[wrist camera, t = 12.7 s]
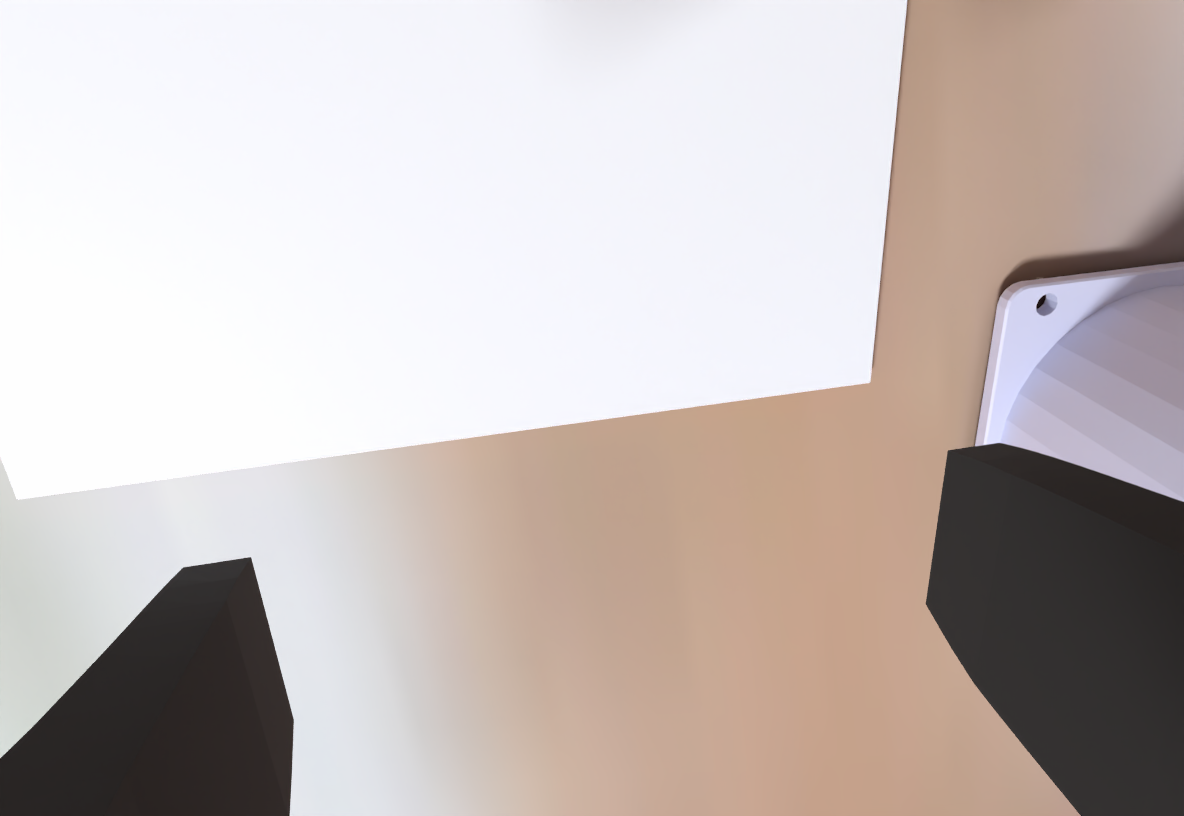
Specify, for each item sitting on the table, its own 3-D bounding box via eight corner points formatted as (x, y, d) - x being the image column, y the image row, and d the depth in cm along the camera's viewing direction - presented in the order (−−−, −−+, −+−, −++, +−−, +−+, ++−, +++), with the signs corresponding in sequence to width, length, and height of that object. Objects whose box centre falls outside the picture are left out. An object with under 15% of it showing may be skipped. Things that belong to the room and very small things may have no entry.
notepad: (923, -259, 15) (933, -263, 15) (864, 377, 21) (870, 382, 20) (-261, -246, 12) (-275, -251, 12) (23, 492, 18) (16, 499, 17)
